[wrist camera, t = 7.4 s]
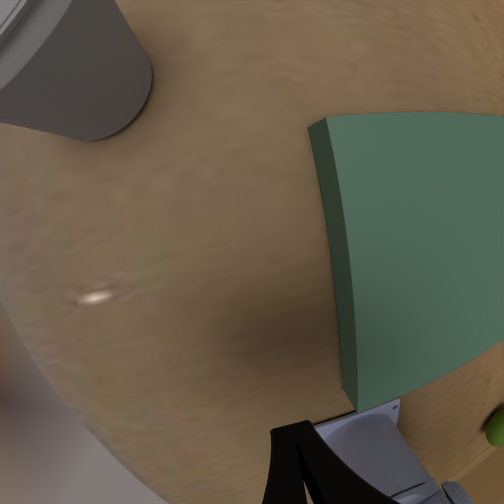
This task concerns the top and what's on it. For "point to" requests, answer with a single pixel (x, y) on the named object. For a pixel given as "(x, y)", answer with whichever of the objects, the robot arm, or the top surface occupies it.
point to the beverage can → (70, 67)
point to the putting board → (412, 244)
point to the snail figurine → (496, 429)
